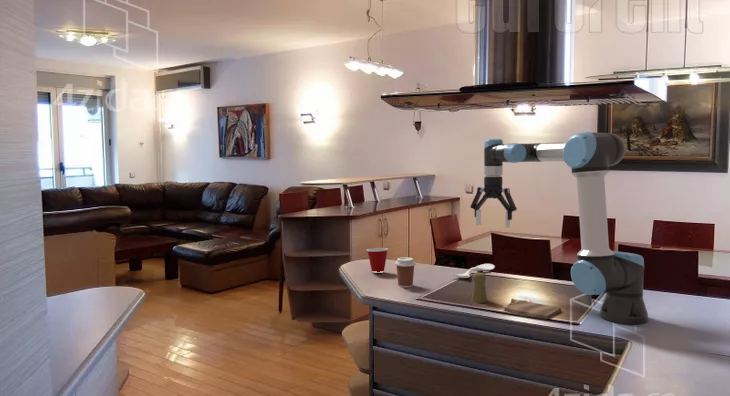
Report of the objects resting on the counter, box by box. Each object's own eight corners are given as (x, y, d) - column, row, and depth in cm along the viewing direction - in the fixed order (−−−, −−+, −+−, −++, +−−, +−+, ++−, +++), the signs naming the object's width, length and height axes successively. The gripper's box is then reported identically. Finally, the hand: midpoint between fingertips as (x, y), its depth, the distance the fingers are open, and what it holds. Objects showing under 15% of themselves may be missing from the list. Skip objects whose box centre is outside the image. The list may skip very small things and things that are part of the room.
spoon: (448, 279, 251) (448, 272, 251) (481, 267, 275) (481, 260, 275) (466, 282, 245) (466, 274, 245) (498, 269, 270) (498, 263, 269)
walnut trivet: (560, 310, 200) (560, 307, 200) (546, 319, 190) (546, 316, 190) (519, 303, 210) (519, 300, 210) (504, 310, 200) (504, 307, 200)
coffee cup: (415, 288, 234) (415, 261, 233) (394, 288, 236) (393, 260, 235) (416, 283, 243) (416, 256, 242) (396, 282, 245) (395, 256, 244)
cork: (487, 303, 211) (487, 275, 210) (471, 302, 212) (471, 274, 211) (486, 298, 217) (487, 271, 216) (471, 298, 218) (471, 271, 217)
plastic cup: (380, 269, 273) (380, 245, 272) (393, 273, 264) (392, 248, 263) (362, 272, 267) (361, 248, 266) (374, 276, 258) (374, 251, 257)
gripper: (525, 176, 223) (524, 227, 225) (471, 175, 239) (471, 222, 241) (517, 177, 217) (516, 229, 219) (462, 175, 234) (462, 224, 236)
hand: (492, 226), depth 230 cm, fingers open, 13 cm apart
